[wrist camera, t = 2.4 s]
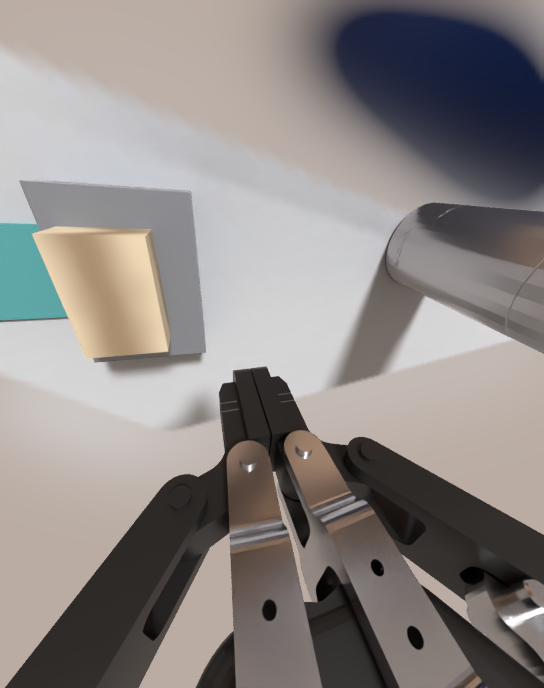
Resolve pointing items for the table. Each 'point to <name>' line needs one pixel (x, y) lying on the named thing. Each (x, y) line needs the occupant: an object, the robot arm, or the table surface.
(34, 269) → the teal rubber mat
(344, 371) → the table surface
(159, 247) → the grey rectangular block
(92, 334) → the maple tile
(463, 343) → the table surface
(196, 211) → the table surface
